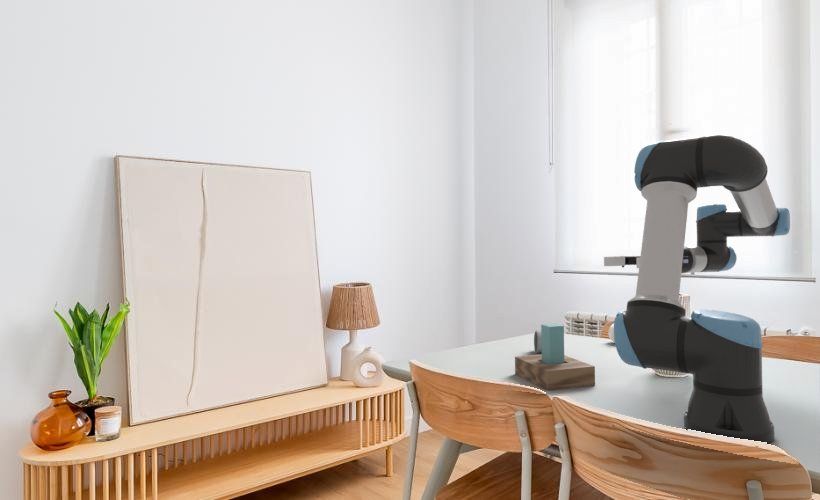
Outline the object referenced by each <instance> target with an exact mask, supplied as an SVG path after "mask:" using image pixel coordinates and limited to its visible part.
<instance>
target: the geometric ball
mask: <svg viewBox="0 0 820 500" xmlns="http://www.w3.org/2000/svg"><path fill="white" fill-rule="evenodd" d="M607 334H608V337H609V340H611V341H612V342H614V343H615V340H614V323H612V324H611V325H610V327H609V328H608V332H607Z"/></svg>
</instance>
